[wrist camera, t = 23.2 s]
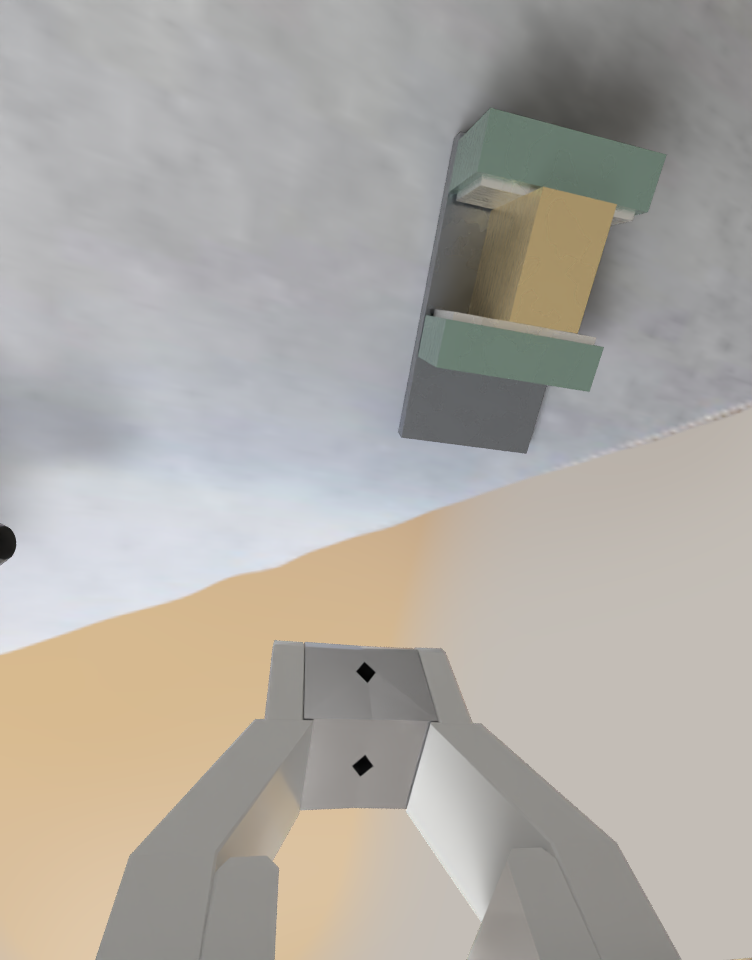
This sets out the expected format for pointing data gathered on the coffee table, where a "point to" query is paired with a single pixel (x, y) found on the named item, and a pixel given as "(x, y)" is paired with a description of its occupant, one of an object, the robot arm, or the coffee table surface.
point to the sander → (6, 543)
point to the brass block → (541, 259)
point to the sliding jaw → (509, 350)
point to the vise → (458, 247)
